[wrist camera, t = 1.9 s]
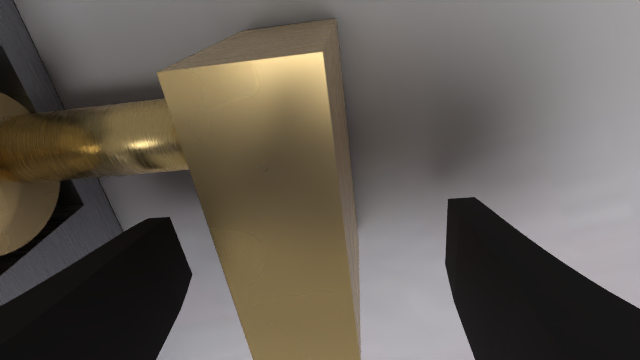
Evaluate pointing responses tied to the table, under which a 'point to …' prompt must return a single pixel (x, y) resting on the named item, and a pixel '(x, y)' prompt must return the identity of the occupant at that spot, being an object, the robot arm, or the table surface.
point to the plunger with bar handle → (226, 177)
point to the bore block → (74, 195)
